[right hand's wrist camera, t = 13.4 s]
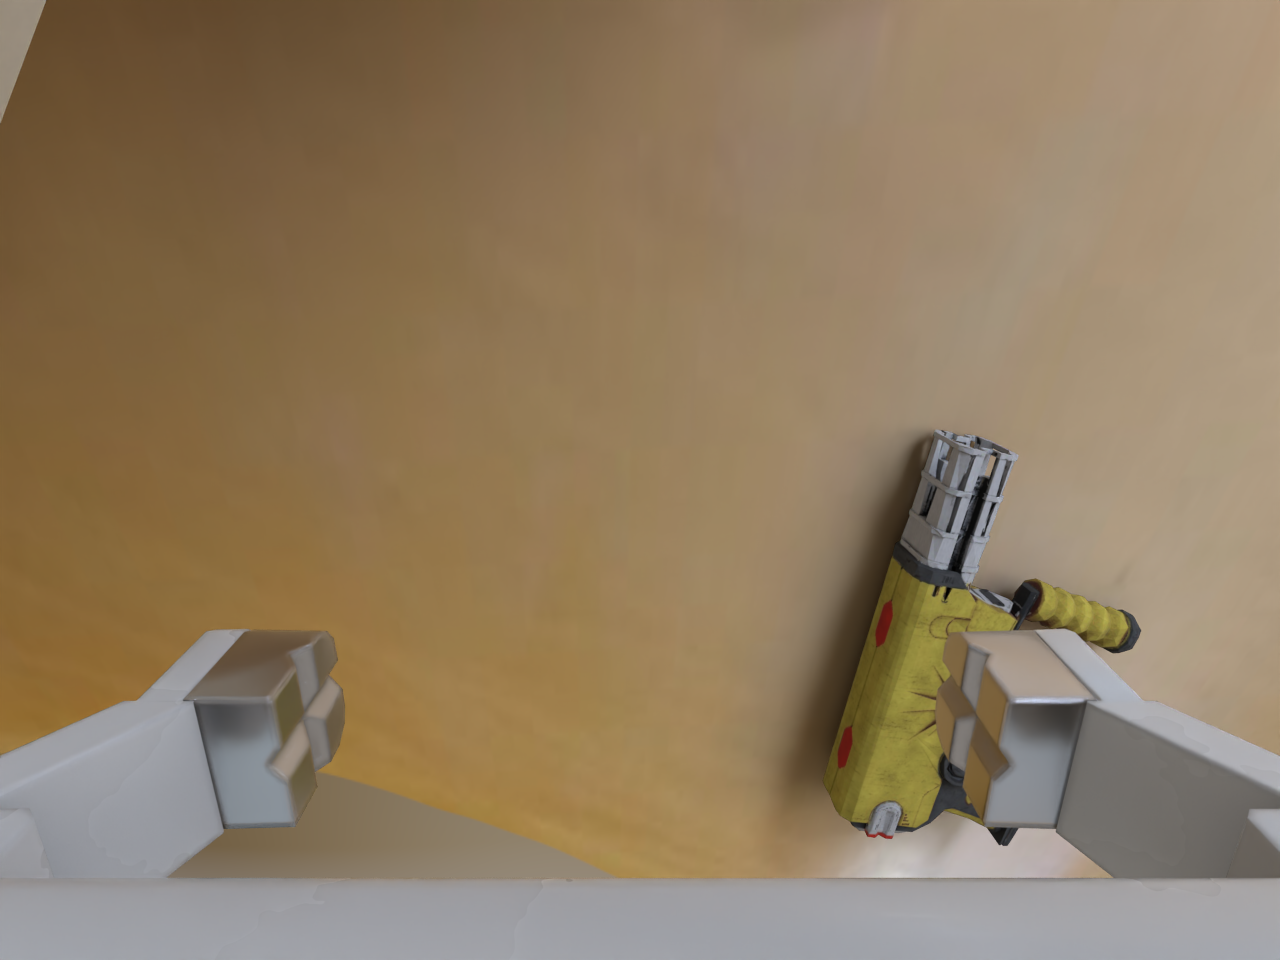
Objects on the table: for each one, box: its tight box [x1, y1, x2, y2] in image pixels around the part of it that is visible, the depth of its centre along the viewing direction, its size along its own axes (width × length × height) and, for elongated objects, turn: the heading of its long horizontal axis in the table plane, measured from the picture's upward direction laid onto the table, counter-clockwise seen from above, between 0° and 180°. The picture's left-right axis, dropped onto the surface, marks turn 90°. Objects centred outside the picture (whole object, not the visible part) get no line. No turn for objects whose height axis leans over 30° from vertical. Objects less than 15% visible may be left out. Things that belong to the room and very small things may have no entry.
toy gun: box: [823, 430, 1141, 846], centre depth 45 cm, size 5×24×15 cm
